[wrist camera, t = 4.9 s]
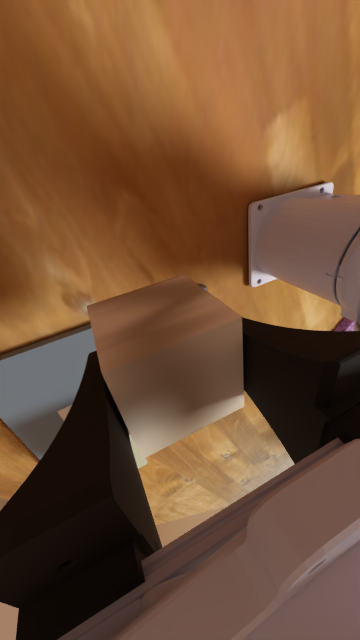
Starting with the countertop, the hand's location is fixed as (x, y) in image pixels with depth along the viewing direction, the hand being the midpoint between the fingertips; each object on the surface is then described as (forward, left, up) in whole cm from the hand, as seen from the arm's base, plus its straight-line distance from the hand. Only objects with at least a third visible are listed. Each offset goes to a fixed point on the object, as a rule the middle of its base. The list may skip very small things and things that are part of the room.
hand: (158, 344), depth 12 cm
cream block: (0, 0, -2) cm, 2 cm away
